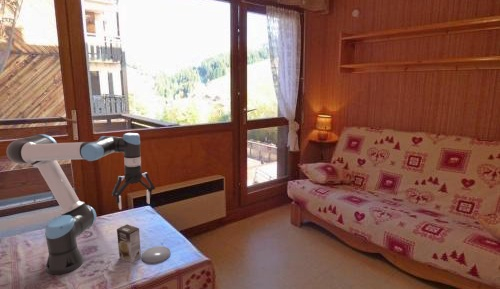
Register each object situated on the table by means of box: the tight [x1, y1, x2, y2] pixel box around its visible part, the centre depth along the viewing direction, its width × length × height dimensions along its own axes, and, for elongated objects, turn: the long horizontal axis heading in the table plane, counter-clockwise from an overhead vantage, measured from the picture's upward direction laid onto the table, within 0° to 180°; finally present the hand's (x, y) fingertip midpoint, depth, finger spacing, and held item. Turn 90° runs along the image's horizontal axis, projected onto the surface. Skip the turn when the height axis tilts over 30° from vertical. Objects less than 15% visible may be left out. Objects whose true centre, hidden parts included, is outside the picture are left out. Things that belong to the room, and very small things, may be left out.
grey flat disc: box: [141, 245, 171, 265], centre depth 151 cm, size 14×14×1 cm
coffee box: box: [116, 224, 142, 264], centre depth 148 cm, size 9×6×16 cm
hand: (134, 205), depth 148 cm, fingers open, 13 cm apart
